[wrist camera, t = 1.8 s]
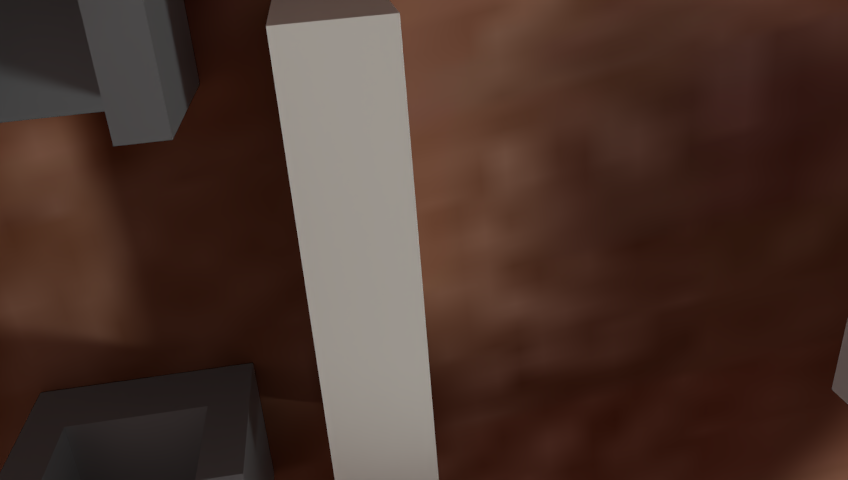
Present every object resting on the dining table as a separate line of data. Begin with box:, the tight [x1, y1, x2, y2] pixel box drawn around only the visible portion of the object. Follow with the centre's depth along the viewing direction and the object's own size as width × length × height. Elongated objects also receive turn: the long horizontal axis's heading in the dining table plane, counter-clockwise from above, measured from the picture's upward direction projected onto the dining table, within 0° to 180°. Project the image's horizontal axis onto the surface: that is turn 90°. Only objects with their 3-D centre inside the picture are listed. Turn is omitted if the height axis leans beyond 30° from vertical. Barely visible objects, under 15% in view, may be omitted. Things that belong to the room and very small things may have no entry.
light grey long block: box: [266, 0, 439, 480], centre depth 27 cm, size 16×4×6 cm, turn 5°
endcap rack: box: [0, 0, 274, 480], centre depth 26 cm, size 22×8×6 cm, turn 5°
